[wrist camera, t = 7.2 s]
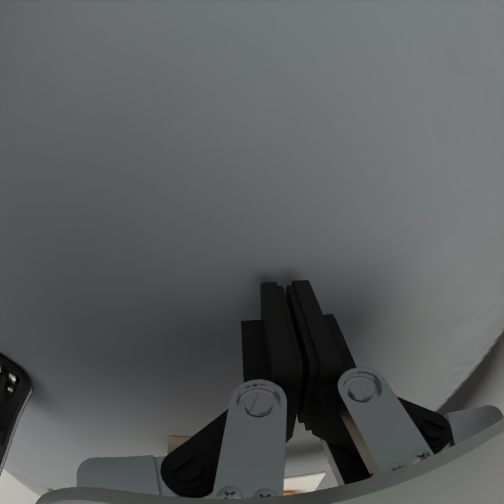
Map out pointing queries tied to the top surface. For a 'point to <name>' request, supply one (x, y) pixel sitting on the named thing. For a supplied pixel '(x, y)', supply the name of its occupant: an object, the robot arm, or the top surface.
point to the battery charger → (11, 403)
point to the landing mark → (302, 483)
